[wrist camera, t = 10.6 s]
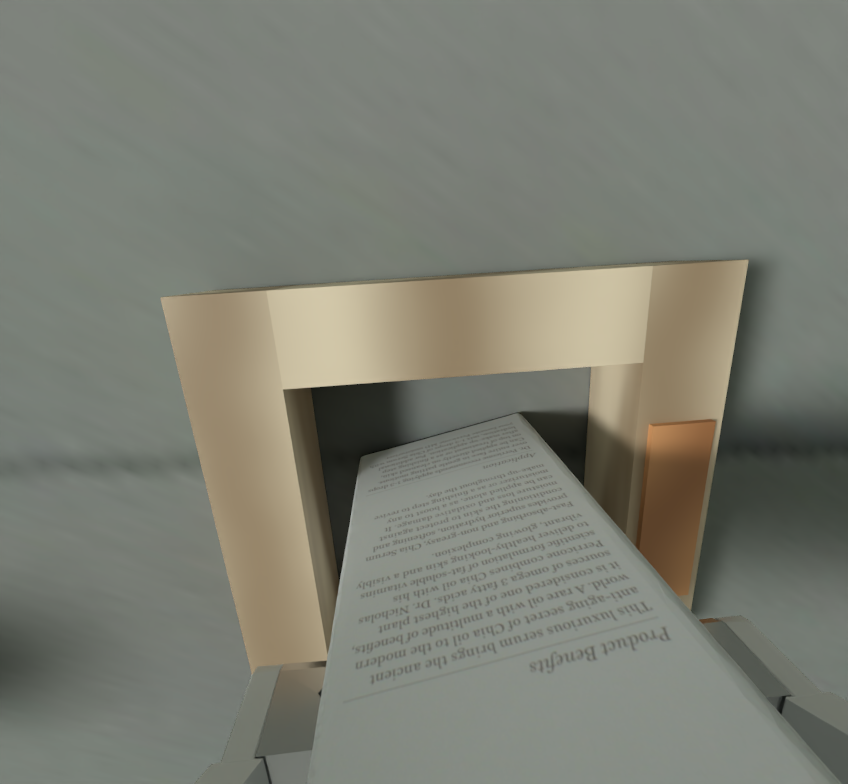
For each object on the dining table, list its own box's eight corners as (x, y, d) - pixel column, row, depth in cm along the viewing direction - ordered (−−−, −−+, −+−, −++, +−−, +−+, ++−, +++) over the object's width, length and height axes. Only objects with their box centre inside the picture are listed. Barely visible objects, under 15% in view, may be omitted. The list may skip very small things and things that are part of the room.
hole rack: (672, 261, 13) (755, 259, 10) (632, 618, 18) (682, 692, 15) (213, 290, 13) (155, 297, 10) (287, 653, 17) (264, 737, 14)
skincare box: (392, 549, 16) (382, 1275, 4) (358, 453, 15) (221, 1122, 3) (545, 508, 16) (934, 1146, 4) (524, 407, 15) (997, 932, 3)
